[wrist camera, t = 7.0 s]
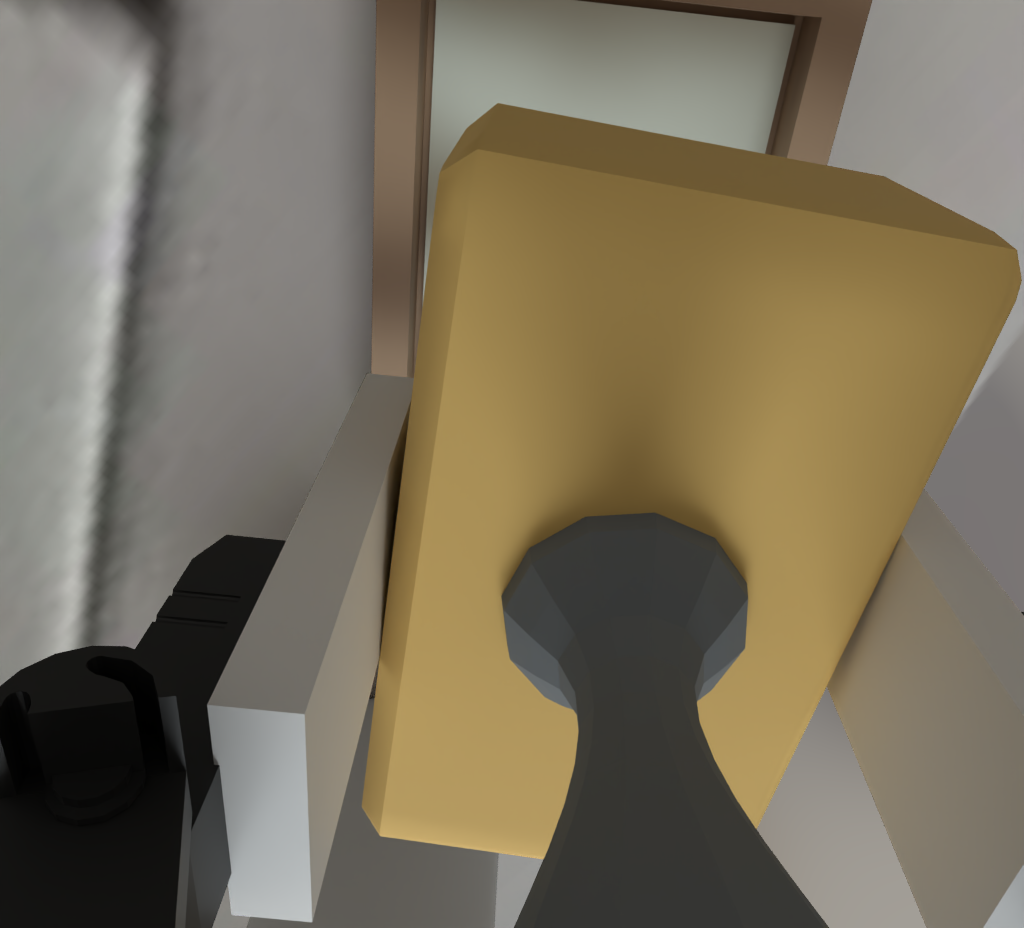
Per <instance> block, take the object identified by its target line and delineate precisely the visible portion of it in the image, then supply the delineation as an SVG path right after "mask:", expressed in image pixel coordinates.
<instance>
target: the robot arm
mask: <svg viewBox="0 0 1024 928" xmlns="http://www.w3.org/2000/svg"><path fill="white" fill-rule="evenodd" d="M413 381H414V378H408V377H398V376H388V375H379V374H369V373H367V374H366V376H365V378H364V381H363V383H362V385H361V387H360V389H359V391H358V393H357V395H356V397H355V399H354V401H353V403H352V405H351V407H350V410H349V412H348V414H347V416H346V418H345V420H344V422H343V424H342V426H341V428H340V430H339V432H338V434H337V436H336V439H335V441H334V443H333V445H332V447H331V449H330V451H329V453H328V455H327V457H326V459H325V461H324V463H323V466H322V468H321V470H320V472H319V474H318V476H317V478H316V480H315V482H314V484H313V486H312V488H311V490H310V492H309V495H308V497H307V499H306V501H305V503H304V505H303V507H302V509H301V511H300V513H299V515H298V517H297V519H296V522H295V524H294V526H293V528H292V530H291V532H290V534H289V536H288V538H287V540H286V541H283V540H273V539H263V538H253V537H243V536H233V535H226V536H224V537H223V538H221V539H220V540H219V541H217V542H216V543H214V544H213V545H211V546H210V547H209V548H207V549H206V550H204V551H203V552H202V553H200V554H199V555H197V556H196V557H195V558H193V559H192V560H191V562H190V564H189V565H188V567H187V568H186V570H185V571H184V573H183V575H182V576H181V578H180V579H179V581H178V582H177V584H176V586H175V587H174V589H173V594H172V596H169V597H168V598H167V600H166V601H165V603H164V605H163V606H162V608H161V609H160V611H159V612H158V614H157V619H156V622H152V623H151V625H150V627H149V628H148V630H147V631H146V633H145V634H144V636H143V638H142V639H141V641H140V642H139V644H138V645H137V647H136V649H132V648H129V647H126V646H89V647H85V648H80V649H75V650H71V651H66V652H62V653H57V654H54V655H52V656H50V657H48V658H45V659H43V660H41V661H39V662H37V663H35V664H33V665H30V666H28V667H26V668H24V669H22V670H20V671H19V672H17V673H16V674H15V675H14V676H12V677H11V678H10V679H9V680H7V681H6V682H5V683H4V684H2V685H1V686H0V928H212V926H213V923H214V920H215V918H216V915H217V912H218V909H219V907H220V904H221V901H222V898H223V896H224V893H225V890H226V887H227V884H228V888H229V896H230V905H231V914H232V915H237V916H248V917H259V918H270V919H281V920H292V921H302V922H313V918H314V914H315V910H316V906H317V902H318V898H319V894H320V890H321V886H322V882H323V878H324V874H325V870H326V866H327V862H328V858H329V854H330V851H331V847H332V843H333V839H334V835H335V831H336V827H337V823H338V819H339V815H340V811H341V807H342V803H343V799H344V795H345V791H346V787H347V783H348V779H349V775H350V772H351V768H352V764H353V760H354V756H355V752H356V748H357V744H358V740H359V736H360V732H361V728H362V724H363V720H364V716H365V712H366V708H367V704H368V700H369V697H370V693H371V689H372V685H373V681H374V677H375V673H376V669H377V665H378V661H379V657H380V651H381V643H382V635H383V627H384V619H385V610H386V602H387V594H388V586H389V578H390V569H391V561H392V553H393V545H394V537H395V529H396V520H397V512H398V504H399V496H400V488H401V479H402V471H403V463H404V455H405V447H406V438H407V430H408V422H409V414H410V406H411V398H412V389H413ZM827 687H828V690H829V692H830V695H831V697H832V700H833V702H834V705H835V707H836V709H837V712H838V714H839V717H840V719H841V722H842V724H843V726H844V729H845V731H846V734H847V736H848V739H849V741H850V743H851V746H852V748H853V751H854V753H855V756H856V758H857V760H858V763H859V765H860V767H861V770H862V772H863V775H864V777H865V780H866V782H867V785H868V787H869V789H870V792H871V794H872V797H873V799H874V801H875V804H876V806H877V809H878V811H879V814H880V816H881V819H882V821H883V823H884V826H885V828H886V830H887V833H888V835H889V838H890V840H891V843H892V845H893V848H894V850H895V852H896V855H897V857H898V860H899V862H900V864H901V867H902V869H903V872H904V874H905V877H906V879H907V881H908V884H909V886H910V889H911V891H912V894H913V896H914V898H915V901H916V903H917V906H918V908H919V911H920V913H921V915H922V918H923V920H924V923H925V925H926V927H927V928H1024V612H1020V610H1019V609H1018V608H1017V607H1016V605H1015V604H1014V603H1013V601H1012V600H1011V599H1010V598H1009V596H1008V595H1007V594H1006V592H1005V591H1004V590H1003V589H1002V587H1001V586H1000V585H999V583H998V582H997V581H996V580H995V578H994V577H993V576H992V574H991V573H990V572H989V571H988V569H987V568H986V567H985V566H984V564H983V563H982V562H981V561H980V559H979V558H978V557H977V555H976V554H975V553H974V551H973V550H972V549H971V548H970V546H969V545H968V544H967V543H966V541H965V540H964V539H963V538H962V536H961V535H960V534H959V532H958V531H957V530H956V529H955V527H954V526H953V525H952V523H951V522H950V521H949V520H948V519H947V517H946V516H945V514H943V512H942V511H941V509H940V508H939V507H938V506H937V504H936V503H935V502H934V500H933V499H932V498H931V497H930V495H929V494H928V493H927V491H925V489H923V491H922V493H921V495H920V497H919V499H918V501H917V503H916V505H915V507H914V509H913V511H912V514H911V516H910V518H909V520H908V522H907V524H906V526H905V528H904V530H903V532H902V534H901V536H900V538H899V540H898V542H897V544H896V546H895V548H894V550H893V552H892V554H891V556H890V558H889V560H888V562H887V564H886V566H885V569H884V571H883V573H882V575H881V577H880V579H879V581H878V583H877V585H876V587H875V589H874V591H873V593H872V595H871V597H870V599H869V601H868V603H867V605H866V607H865V609H864V611H863V613H862V615H861V617H860V619H859V622H858V624H857V626H856V628H855V630H854V632H853V634H852V636H851V638H850V640H849V642H848V644H847V646H846V648H845V650H844V652H843V654H842V656H841V658H840V660H839V662H838V664H837V666H836V668H835V670H834V672H833V674H832V677H831V679H830V681H829V683H828V685H827Z"/></svg>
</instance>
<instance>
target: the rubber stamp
mask: <svg viewBox="0 0 1024 928" xmlns="http://www.w3.org/2000/svg"><path fill="white" fill-rule="evenodd" d="M1021 281H1022V280H1021V273H1020V267H1019V260H1018V254H1017V250H1016V249H1015V248H1014V247H1012V246H1011V245H1010V244H1009V243H1007V242H1006V241H1005V240H1004V239H1002V238H1001V237H1000V236H999V235H997V234H996V233H995V232H993V231H991V230H989V229H987V228H985V227H983V226H981V225H979V224H977V223H975V222H973V221H971V220H969V219H967V218H965V217H963V216H961V215H959V214H957V213H955V212H953V211H952V210H950V209H948V208H946V207H944V206H942V205H940V204H938V203H936V202H934V201H932V200H930V199H928V198H926V197H924V196H922V195H920V194H918V193H916V192H914V191H912V190H910V189H908V188H906V187H904V186H902V185H900V184H898V183H896V182H894V181H892V180H890V179H888V178H886V177H884V176H879V175H874V174H868V173H863V172H858V171H853V170H847V169H842V168H837V167H832V166H826V165H821V164H816V163H811V162H805V161H800V160H795V159H790V158H784V157H779V156H774V155H769V154H763V153H758V152H753V151H748V150H742V149H737V148H732V147H727V146H721V145H716V144H711V143H706V142H700V141H695V140H690V139H685V138H679V137H674V136H669V135H664V134H658V133H653V132H648V131H643V130H637V129H632V128H627V127H622V126H616V125H611V124H606V123H600V122H595V121H590V120H585V119H579V118H574V117H569V116H564V115H558V114H553V113H548V112H543V111H537V110H532V109H527V108H522V107H516V106H511V105H506V104H501V103H497V104H496V105H495V106H493V107H492V108H491V109H490V110H488V111H487V112H486V113H485V114H483V115H482V116H481V117H480V118H479V119H477V120H476V121H475V122H474V123H472V124H471V125H470V126H469V127H468V128H466V130H465V131H464V133H463V134H462V136H461V138H460V139H459V141H458V142H457V144H456V145H455V147H454V149H453V150H452V152H451V153H450V155H449V156H448V158H447V160H446V161H445V163H444V164H443V166H442V168H441V171H440V173H439V180H438V187H437V193H436V201H435V209H434V217H433V226H432V234H431V242H430V250H429V258H428V267H427V275H426V283H425V291H424V299H423V308H422V316H421V324H420V332H419V340H418V348H417V357H416V365H415V373H414V381H413V389H412V398H411V406H410V414H409V422H408V430H407V438H406V447H405V455H404V463H403V471H402V479H401V488H400V496H399V504H398V512H397V520H396V529H395V537H394V545H393V553H392V561H391V569H390V578H389V586H388V594H387V602H386V610H385V619H384V627H383V635H382V643H381V651H380V659H379V668H378V676H377V684H376V692H375V700H374V709H373V717H372V725H371V733H370V741H369V750H368V758H367V766H366V774H365V782H364V790H363V799H362V808H363V810H364V811H365V813H366V815H367V816H368V818H369V819H370V821H371V823H372V824H373V826H374V827H375V829H376V831H377V832H378V834H379V835H380V836H382V837H389V838H397V839H404V840H411V841H418V842H425V843H432V844H439V845H446V846H453V847H460V848H467V849H474V850H482V851H489V852H496V853H503V854H510V855H517V856H524V857H531V858H538V859H544V860H543V862H542V864H541V867H540V869H539V871H538V874H537V876H536V879H535V881H534V883H533V886H532V888H531V890H530V893H529V895H528V897H527V900H526V902H525V904H524V906H523V908H522V911H521V913H520V915H519V917H518V920H517V922H516V924H515V926H514V928H829V927H828V926H827V924H826V923H825V922H824V920H823V919H822V918H821V916H820V915H819V914H818V913H817V911H816V910H815V909H814V907H813V906H812V905H811V903H810V902H809V901H808V899H807V898H806V897H805V895H804V894H803V893H802V892H801V890H800V889H799V888H798V886H797V885H796V883H795V882H794V881H793V880H792V878H791V877H790V875H789V874H788V873H787V871H786V870H785V869H784V867H783V866H782V864H781V863H780V862H779V860H778V859H777V858H776V856H775V855H774V854H773V852H772V851H771V850H770V848H769V847H768V846H767V844H766V843H765V842H764V840H763V839H762V837H761V836H760V834H759V832H758V831H757V827H758V825H759V823H760V821H761V819H762V817H763V815H764V813H765V811H766V809H767V807H768V805H769V803H770V801H771V799H772V797H773V795H774V793H775V791H776V789H777V786H778V785H779V782H780V780H781V778H782V776H783V774H784V772H785V770H786V768H787V766H788V764H789V762H790V760H791V758H792V756H793V754H794V752H795V750H796V748H797V746H798V744H799V742H800V740H801V738H802V736H803V733H804V732H805V729H806V727H807V725H808V723H809V721H810V719H811V717H812V715H813V713H814V711H815V709H816V707H817V705H818V703H819V701H820V699H821V697H822V695H823V693H824V691H825V689H826V687H827V685H828V683H829V681H830V679H831V677H832V674H833V672H834V670H835V668H836V666H837V664H838V662H839V660H840V658H841V656H842V654H843V652H844V650H845V648H846V646H847V644H848V642H849V640H850V638H851V636H852V634H853V632H854V630H855V628H856V626H857V624H858V622H859V619H860V617H861V615H862V613H863V611H864V609H865V607H866V605H867V603H868V601H869V599H870V597H871V595H872V593H873V591H874V589H875V587H876V585H877V583H878V581H879V579H880V577H881V575H882V573H883V571H884V569H885V566H886V564H887V562H888V560H889V558H890V556H891V554H892V552H893V550H894V548H895V546H896V544H897V542H898V540H899V538H900V536H901V534H902V532H903V530H904V528H905V526H906V524H907V522H908V520H909V518H910V516H911V514H912V511H913V509H914V507H915V505H916V503H917V501H918V499H919V497H920V495H921V493H922V491H923V489H924V487H925V485H926V483H927V481H928V479H929V477H930V475H931V473H932V471H933V469H934V467H935V464H936V462H937V460H938V459H939V456H940V454H941V452H942V450H943V448H944V446H945V444H946V442H947V440H948V438H949V436H950V434H951V432H952V430H953V428H954V426H955V424H956V422H957V420H958V418H959V416H960V414H961V412H962V410H963V408H964V406H965V403H966V401H967V399H968V397H969V395H970V393H971V391H972V389H973V387H974V385H975V383H976V381H977V379H978V377H979V375H980V373H981V371H982V369H983V367H984V365H985V363H986V361H987V359H988V357H989V355H990V353H991V351H992V348H993V346H994V344H995V342H996V340H997V338H998V336H999V334H1000V332H1001V330H1002V328H1003V326H1004V324H1005V322H1006V320H1007V318H1008V316H1009V314H1010V312H1011V310H1012V308H1013V306H1014V304H1015V302H1016V298H1017V295H1018V292H1019V288H1020V285H1021Z"/></svg>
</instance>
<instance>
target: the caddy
mask: <svg viewBox="0 0 1024 928" xmlns="http://www.w3.org/2000/svg"><path fill="white" fill-rule="evenodd" d="M871 3H872V0H376V73H375V145H374V217H373V290H372V362H371V374H379V375H388V376H398V377H408V378H414V373H415V365H416V357H417V348H418V340H419V332H420V324H421V316H422V308H423V299H424V291H425V283H426V275H427V267H428V258H429V250H430V242H431V234H432V226H433V217H434V209H435V201H436V193H437V187H438V180H439V173H440V171H441V168H442V166H443V164H444V163H445V161H446V160H447V158H448V156H449V155H450V153H451V152H452V150H453V149H454V147H455V145H456V144H457V142H458V141H459V139H460V138H461V136H462V134H463V133H464V131H465V130H466V128H468V127H469V126H470V125H471V124H472V123H474V122H475V121H476V120H477V119H479V118H480V117H481V116H482V115H483V114H485V113H486V112H487V111H488V110H490V109H491V108H492V107H493V106H495V105H496V104H497V103H501V104H506V105H511V106H516V107H522V108H527V109H532V110H537V111H543V112H548V113H553V114H558V115H564V116H569V117H574V118H579V119H585V120H590V121H595V122H600V123H606V124H611V125H616V126H622V127H627V128H632V129H637V130H643V131H648V132H653V133H658V134H664V135H669V136H674V137H679V138H685V139H690V140H695V141H700V142H706V143H711V144H716V145H721V146H727V147H732V148H737V149H742V150H748V151H753V152H758V153H763V154H769V155H774V156H779V157H784V158H790V159H795V160H800V161H805V162H811V163H816V164H821V165H826V166H827V163H828V160H829V156H830V152H831V149H832V145H833V141H834V138H835V134H836V131H837V127H838V123H839V120H840V116H841V112H842V109H843V105H844V101H845V98H846V94H847V90H848V87H849V83H850V80H851V76H852V72H853V69H854V65H855V61H856V58H857V54H858V50H859V47H860V43H861V39H862V36H863V32H864V28H865V25H866V21H867V18H868V14H869V10H870V7H871Z"/></svg>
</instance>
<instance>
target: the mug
mask: <svg viewBox="0 0 1024 928" xmlns="http://www.w3.org/2000/svg"><path fill="white" fill-rule="evenodd" d="M374 700H375V698H372V699H369V700H368V704H367V708H366V712H365V716H364V720H363V724H362V728H361V732H360V736H359V740H358V744H357V748H356V752H355V756H354V760H353V764H352V768H351V772H350V775H349V779H348V783H347V787H346V791H345V795H344V799H343V803H342V807H341V811H340V815H339V819H338V823H337V827H336V831H335V835H334V839H333V843H332V847H331V851H330V854H329V858H328V862H327V866H326V870H325V874H324V878H323V882H322V886H321V890H320V894H319V898H318V902H317V906H316V910H315V914H314V918H313V922H302V921H292V920H281V919H270V918H259V917H250V919H249V922H248V925H247V928H494V927H495V908H496V890H497V872H498V855H499V853H496V852H489V851H482V850H474V849H467V848H460V847H453V846H446V845H439V844H432V843H425V842H418V841H411V840H404V839H397V838H389V837H382V836H380V835H379V834H378V832H377V831H376V829H375V827H374V826H373V824H372V823H371V821H370V819H369V818H368V816H367V815H366V813H365V811H364V810H363V808H362V799H363V790H364V782H365V774H366V766H367V758H368V750H369V741H370V733H371V725H372V717H373V709H374Z"/></svg>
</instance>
